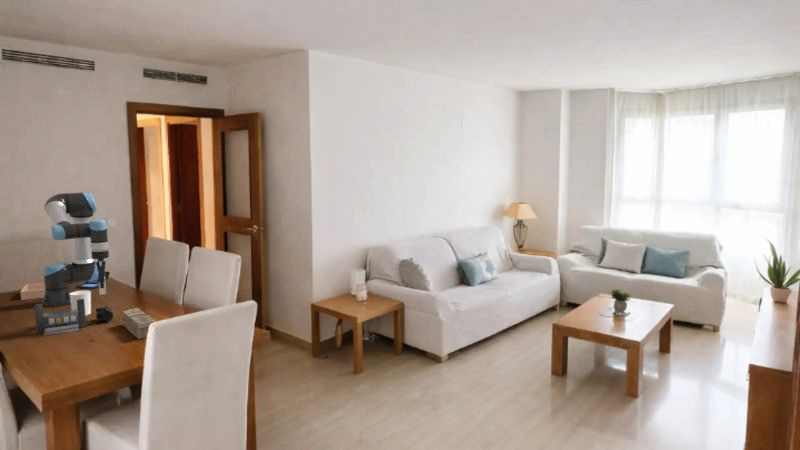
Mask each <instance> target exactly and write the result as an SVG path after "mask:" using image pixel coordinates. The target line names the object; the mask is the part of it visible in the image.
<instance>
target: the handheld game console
mask: <svg viewBox="0 0 800 450" xmlns="http://www.w3.org/2000/svg"><path fill="white" fill-rule="evenodd" d="M110 273H111V272H109V271H106V270H105V274H107V276H105V278H106V283H108V279H109V276H110ZM97 280H99V277H98V276H97V278H96V280H94V281H89V282H83V283H82V284H79V285H76V286H75V289H82V290H84V289H85V290H99V282H97Z"/></svg>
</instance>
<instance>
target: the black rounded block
mask: <svg viewBox="0 0 800 450" xmlns="http://www.w3.org/2000/svg"><path fill="white" fill-rule="evenodd" d="M95 313H96V314H95V315H96V323H97V325H102V324H107V323H110V321H112V319H113V317H114V313H113V310H112V308H111V306H108V305H104V307H98V308H95Z"/></svg>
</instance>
